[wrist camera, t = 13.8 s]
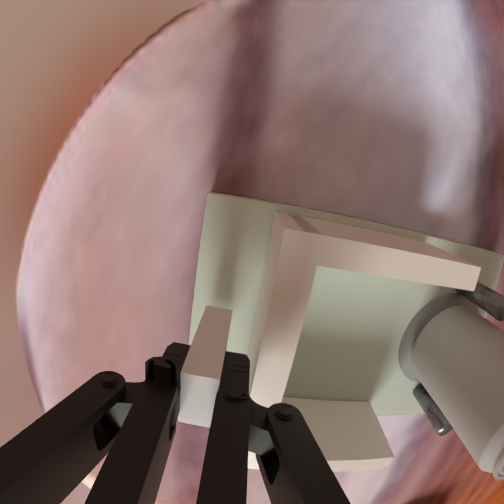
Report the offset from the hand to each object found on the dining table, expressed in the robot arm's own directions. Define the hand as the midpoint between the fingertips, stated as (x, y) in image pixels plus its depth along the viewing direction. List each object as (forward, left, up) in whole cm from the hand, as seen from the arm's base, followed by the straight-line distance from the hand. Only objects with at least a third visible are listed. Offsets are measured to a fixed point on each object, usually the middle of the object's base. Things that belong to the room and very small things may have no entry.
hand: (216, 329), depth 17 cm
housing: (-7, 0, -2) cm, 7 cm away
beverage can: (-16, 0, -2) cm, 16 cm away
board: (-9, 0, -3) cm, 10 cm away
